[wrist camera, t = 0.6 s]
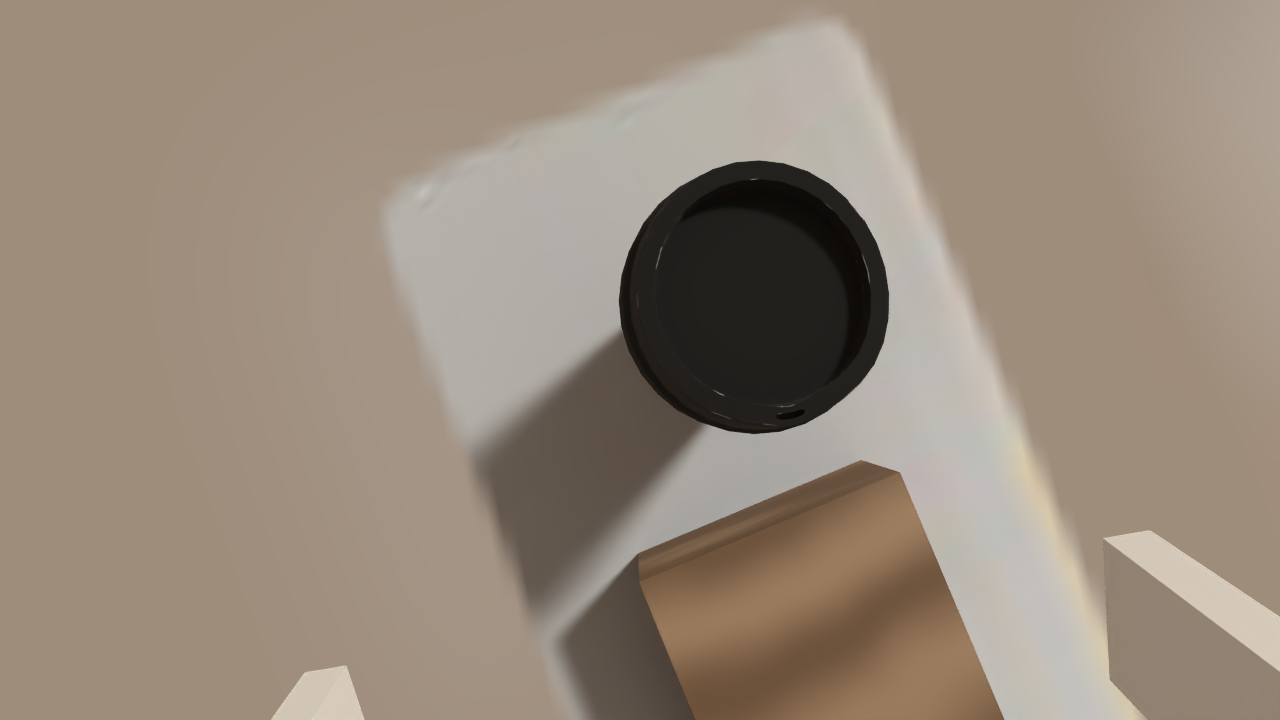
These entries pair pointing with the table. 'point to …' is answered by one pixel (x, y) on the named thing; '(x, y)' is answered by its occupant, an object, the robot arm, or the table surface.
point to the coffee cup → (754, 298)
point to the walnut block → (816, 610)
